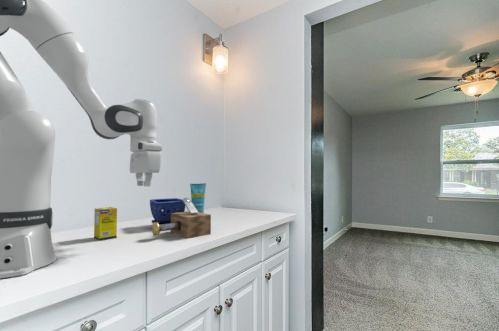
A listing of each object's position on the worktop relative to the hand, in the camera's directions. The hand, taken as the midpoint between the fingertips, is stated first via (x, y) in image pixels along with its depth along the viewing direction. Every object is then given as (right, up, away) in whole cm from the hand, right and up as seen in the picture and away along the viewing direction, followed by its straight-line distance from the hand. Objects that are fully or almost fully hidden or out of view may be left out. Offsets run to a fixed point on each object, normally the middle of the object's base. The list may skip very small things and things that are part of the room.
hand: (143, 186), depth 89 cm
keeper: (+13, -9, +13) cm, 20 cm away
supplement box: (-16, -20, +4) cm, 25 cm away
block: (+14, -20, +12) cm, 27 cm away
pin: (+8, -18, +7) cm, 21 cm away
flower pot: (0, -20, +25) cm, 32 cm away
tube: (+14, -20, +27) cm, 36 cm away
